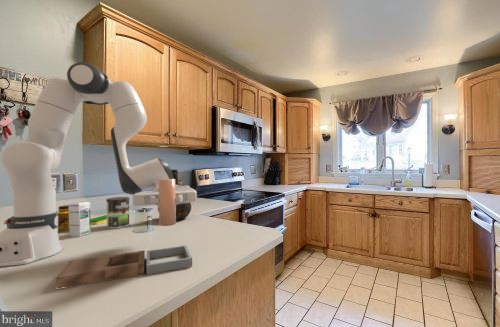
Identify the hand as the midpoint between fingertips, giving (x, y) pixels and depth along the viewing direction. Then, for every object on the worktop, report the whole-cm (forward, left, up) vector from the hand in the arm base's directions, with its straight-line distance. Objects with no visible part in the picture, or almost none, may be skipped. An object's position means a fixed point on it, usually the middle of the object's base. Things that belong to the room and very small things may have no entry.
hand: (167, 200), depth 75 cm
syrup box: (-34, +50, -20) cm, 64 cm away
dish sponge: (-30, +76, -20) cm, 84 cm away
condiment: (-42, +62, -20) cm, 77 cm away
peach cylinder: (0, +1, -7) cm, 8 cm away
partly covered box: (-17, +1, -20) cm, 26 cm away
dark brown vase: (+8, +63, -20) cm, 66 cm away
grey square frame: (0, +1, -20) cm, 20 cm away
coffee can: (-20, +60, -20) cm, 66 cm away
